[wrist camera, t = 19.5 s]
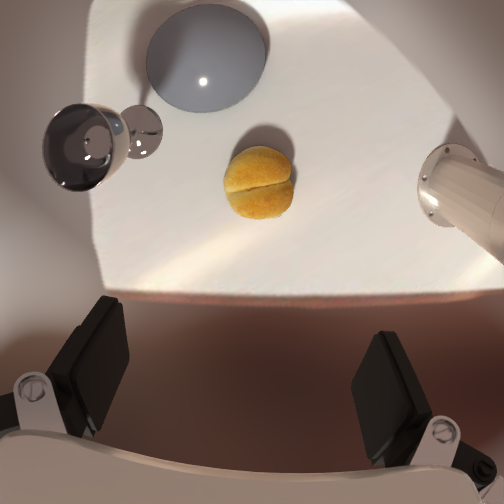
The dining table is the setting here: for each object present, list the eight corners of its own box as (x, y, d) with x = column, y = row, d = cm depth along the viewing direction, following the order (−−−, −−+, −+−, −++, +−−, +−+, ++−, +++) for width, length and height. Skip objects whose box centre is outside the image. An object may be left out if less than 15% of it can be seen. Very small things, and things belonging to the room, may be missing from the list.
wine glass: (130, 173, 38) (70, 209, 25) (100, 126, 35) (29, 142, 22) (177, 139, 36) (130, 158, 23) (145, 90, 34) (84, 84, 20)
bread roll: (287, 141, 36) (291, 146, 32) (293, 209, 40) (298, 221, 36) (218, 150, 36) (215, 155, 33) (230, 218, 40) (228, 230, 37)
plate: (272, 14, 29) (272, 9, 27) (256, 118, 35) (256, 118, 33) (160, 9, 29) (155, 5, 27) (145, 110, 35) (140, 110, 33)
